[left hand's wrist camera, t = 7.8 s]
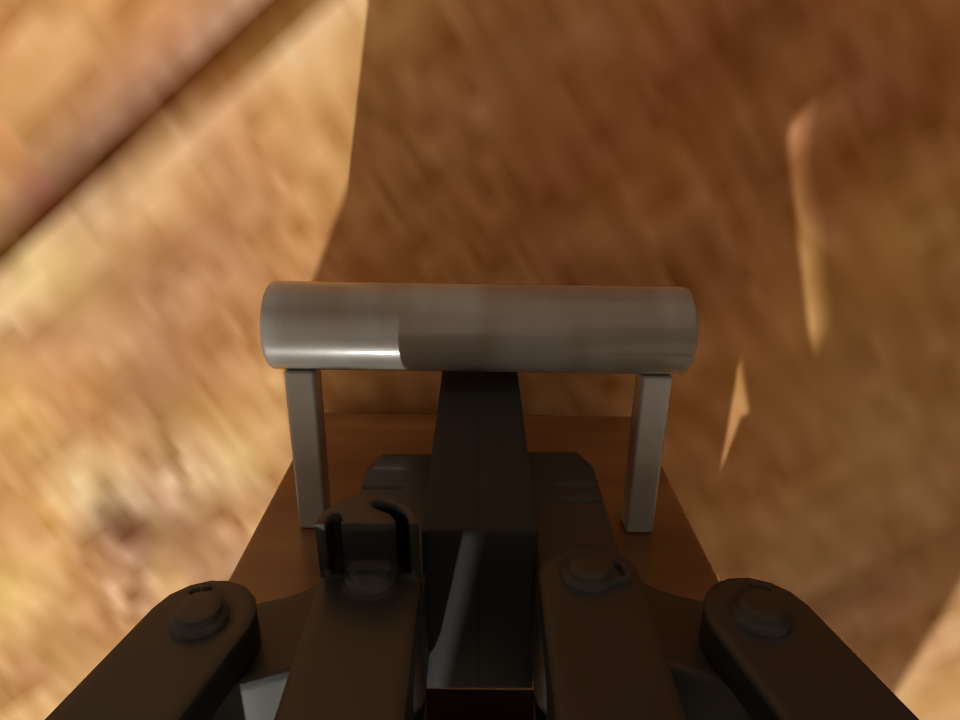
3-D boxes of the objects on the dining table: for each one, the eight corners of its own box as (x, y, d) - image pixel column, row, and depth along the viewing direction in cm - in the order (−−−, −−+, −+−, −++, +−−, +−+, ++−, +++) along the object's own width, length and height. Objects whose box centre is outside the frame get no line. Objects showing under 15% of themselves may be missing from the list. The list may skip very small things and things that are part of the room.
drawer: (302, 230, 18) (146, 341, 9) (657, 235, 18) (811, 350, 9) (350, 816, 26) (288, 1149, 18) (593, 818, 26) (645, 1152, 18)
